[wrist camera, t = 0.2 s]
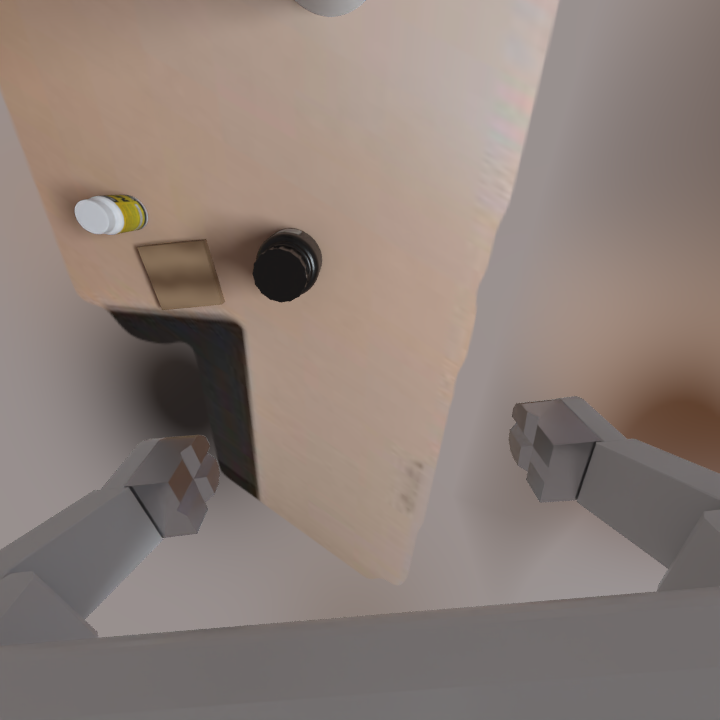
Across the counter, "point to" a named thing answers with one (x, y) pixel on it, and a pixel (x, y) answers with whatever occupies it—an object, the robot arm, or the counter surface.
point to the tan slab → (182, 274)
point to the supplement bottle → (111, 214)
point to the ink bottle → (287, 265)
